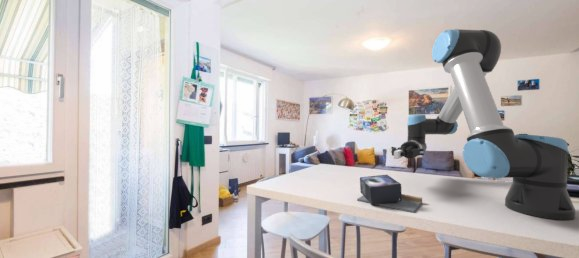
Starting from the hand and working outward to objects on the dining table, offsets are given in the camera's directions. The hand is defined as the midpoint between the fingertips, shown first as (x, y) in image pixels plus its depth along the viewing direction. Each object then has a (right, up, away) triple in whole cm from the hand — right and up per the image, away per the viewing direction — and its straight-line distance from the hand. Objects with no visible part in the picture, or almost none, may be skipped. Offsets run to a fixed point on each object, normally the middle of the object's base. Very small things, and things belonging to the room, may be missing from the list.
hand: (395, 155), depth 90 cm
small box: (-8, -10, 0) cm, 13 cm away
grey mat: (-5, -15, -7) cm, 18 cm away
